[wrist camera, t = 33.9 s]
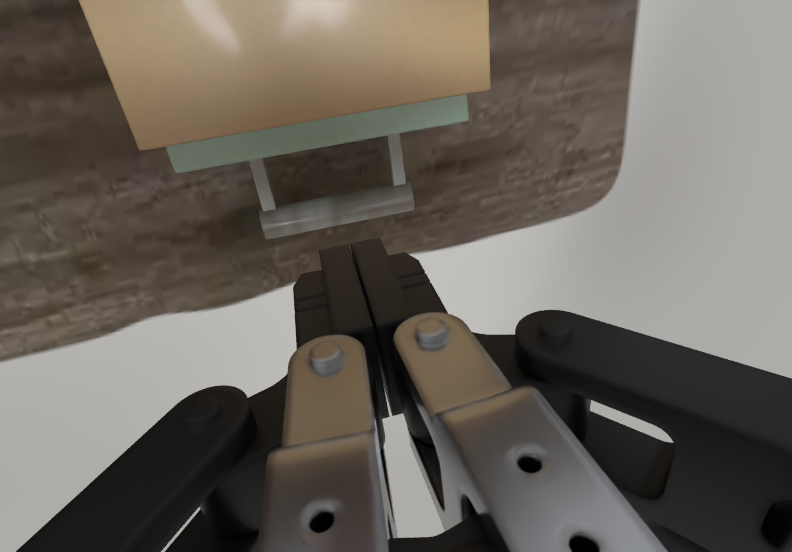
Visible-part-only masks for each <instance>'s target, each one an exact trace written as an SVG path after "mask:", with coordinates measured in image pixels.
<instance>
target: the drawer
mask: <svg viewBox="0 0 792 552" xmlns="http://www.w3.org/2000/svg"><path fill="white" fill-rule="evenodd" d="M468 119H469V118H468V97H467V94H464V95H459V96H453V97H447V98H441V99H436V100H430V101H424V102H419V103H413V104H407V105H402V106H396V107H390V108H384V109H379V110H373V111H367V112H362V113H356V114H350V115H344V116H339V117H333V118H327V119H322V120H316V121H310V122H304V123H299V124H293V125H287V126H282V127H276V128H270V129H264V130H259V131H253V132H247V133H242V134H236V135H230V136H224V137H219V138H213V139H207V140H202V141H196V142H190V143H185V144H179V145H173V146H167V147H165V148H166V150H167V153H168V156H169V158H170V161H171V164H172V166H173V169H174V172H175V173H177V174H178V173H184V172H189V171H195V170H200V169H206V168H211V167H217V166H222V165H228V164H233V163H239V162H244V161H249V165H250V168H251V172H252V175H253V179H254V182H255V185H256V189H257V192H258V196H259V199H260V203H261V206H262V209H260V210H259V217H260V222H261V227H262V230H263V233H264V236H265V238H266V239H273V238H278V237H283V236H288V235H293V234H298V233H303V232H308V231H313V230H317V229H322V228H327V227H332V226H337V225H342V224H347V223H352V222H357V221H362V220H367V219H372V218H377V217H382V216H387V215H392V214H397V213H402V212H407V211H412V210H414V196H413V191H412V188H411V185H410V183H409V181H406V178H405V170H404V162H403V153H402V145H401V137H400V133H404V132H409V131H415V130H421V129H426V128H432V127H437V126H443V125H448V124H454V123H459V122H465V121H468ZM382 136H385V138H386V145H387V153H388V160H389V167H390V175H391V182H392V183H393V184H389V185H384V186H379V187H374V188H368V189H363V190H358V191H353V192H348V193H343V194H337V195H332V196H327V197H322V198H317V199H312V200H306V201H301V202H296V203H291V204H286V205H281V206H276V201H275V197H274V194H273V190H272V186H271V183H270V179H269V175H268V172H267V168H266V164H265V161H264V158H266V157H272V156H277V155H283V154H288V153H294V152H299V151H305V150H310V149H316V148H321V147H327V146H332V145H338V144H343V143H349V142H354V141H360V140H365V139H371V138H376V137H382Z"/></svg>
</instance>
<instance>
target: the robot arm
mask: <svg viewBox="0 0 792 552" xmlns="http://www.w3.org/2000/svg"><path fill="white" fill-rule="evenodd" d="M351 251H352V255H351ZM351 251H350V248H349V245H348V244H346V245H341V246H336V247H331V248H327V249H322V250H319V253H320V259H321V265H322V270H319V271H314V272H309V273H304V274H301V275H300V277H299V279H298V280H297V282H296V283H295V285H294V287H293V292H294V308H295V326H296V342H297V350H296V351H295V352H294V354H293V355H292V357H291V359H290V361H289V365H288V374H287V375H286V376H285V377H284V378H283V379H281V380H280V381H279V382H277V383H276V384H275V385H273V386H271V387H269V388H267V389H265V390H263V391H261V392H259V393H257V394H255V395H253V396H251V397H249V398H247V396H246V394H245V393H244V392H243V391H242V390H240V389H238V388H236V387H232V386H214V387H209V388H206V389H203V390H200V391H198V392H195V393H193V394H191V395H189V396H188V397H186V398H185V399H183V400H182V401H180V402H179V403H178V404H177V405H176V406H174V408H172V409H171V410H170V411H169V412H168V413H167V414H166V415H165V416H164V417H162V418H161V419H160V420H159V421H158V422H157V423H156V424H155V425H154V426H153V427H152V428H150V429H149V430H148V431H147V432H146V433H145V434H144V435H143V436H142V437H141V438H140V439H138V440H137V441H136V442H135V443H134V444H133V445H132V446H131V447H130V448H128V449H127V450H126V451H125V452H124V453H123V454H122V455H121V456H120V457H119V458H118V459H117V460H115V461H114V462H113V463H112V464H111V465H110V466H109V467H108V468H107V469H106V470H105V471H103V472H102V473H101V474H100V475H99V476H98V477H97V478H96V479H95V480H94V481H93V482H91V483H90V484H89V485H88V486H87V487H86V488H85V489H84V490H83V491H82V492H80V494H79V495H77V496H76V497H75V498H74V499H73V500H72V501H71V502H70V503H68V504H67V505H66V506H65V507H64V508H63V509H62V510H61V511H60V512H59V513H57V514H56V515H55V516H54V517H53V518H52V519H51V520H50V521H49V522H48V523H47V524H46V525H44V526H43V527H42V528H41V529H40V530H39V531H38V532H37V533H36V534H35V535H34V536H32V537H31V538H30V539H29V540H28V541H27V542H26V543H25V544H24V545H23V546H21V547H20V548H19V549H18V550H17V551H16V552H161V551H162V550H163V548H164V547H165V546H166V545H167V544H168V542H169V541H170V540H171V539H172V538H173V537H174V535H175V534H176V533H177V532H178V531H179V530H180V528H181V527H182V526H183V525H184V524H185V522H186V521H187V520H188V519H189V518H190V517H191V516H192V514H193V513H194V512H195V511H196V510H197V508H198V507H200V511H199V512H198V513H197V514H196V515H195V517H194V518H193V519H192V520H191V521H190V523H189V524H188V525H187V526H186V527H185V529H184V530H183V531H182V532H181V533H180V535H179V536H178V537H177V538H176V539H175V540H174V541H173V543H172V544H171V545H170V546H169V547H168V549H167V550H166V551H165V552H792V379H791V378H787V377H784V376H781V375H777V374H774V373H771V372H768V371H764V370H761V369H757V368H754V367H751V366H747V365H744V364H741V363H738V362H734V361H730V360H728V359H724V358H721V357H718V356H714V355H711V354H707V353H704V352H701V351H698V350H694V349H691V348H688V347H684V346H681V345H677V344H674V343H671V342H668V341H664V340H661V339H658V338H654V337H651V336H647V335H644V334H641V333H637V332H634V331H631V330H627V329H624V328H621V327H618V326H614V325H611V324H607V323H604V322H600V321H597V320H594V319H590V318H587V317H584V316H581V315H577V314H574V313H571V312H566V311H560V310H544V311H538V312H534V313H531V314H529V315H527V316H525V317H524V318H522V319H521V320H520V321H519V323H518V324H517V326H516V331H515V335H485V334H478V333H474V332H471V330H470V329H469V328H468V326H467V325H466V324H465V323H464V322H463V321H462V320H461V319H459V318H458V317H455V316H453V315H450V314H448V313H447V311H446V309H445V307H444V305H443V304H442V302H441V300H440V298H439V296H438V295H437V293H436V291H435V289H434V287H433V286H432V284H431V283H430V280H429V279H428V277H427V275H426V274H425V271H424V269H423V268H422V266H421V264H420V262H419V260H417V259H415V258H414V257H412V256H410V255H409V254H407V253H405V252H404V253H399V254H394V255H389V256H388V255H387V253H386V250H385V248H384V246H383V244H382V241H381V239H380V238H375V239H370V240H365V241H360V242H355V243H351ZM352 256H353V258H352ZM383 384H384V385H383ZM384 388H385V390H384ZM385 391H386V395H387V398H388V402H389V406H390V409H391V412H392V415H393V416H394V415H398V414H402V413H404V416H405V420H406V423H407V427H408V433H409V439H410V445H411V448H412V450H413V453H414V455H415V458H416V460H417V462H418V465H419V467H420V470H421V472H422V475H423V477H424V480H425V482H426V485H427V487H428V489H429V492H430V494H431V497H432V499H433V502H434V504H435V507H436V509H437V511H438V514H439V517H440V519H441V521H442V524H443V527H444V530H445V532H443V533H442V534H440V535H437V536H434V537H420V538H397V530H396V524H395V517H394V510H393V505H392V504H393V503H392V496H391V490H390V483H389V477H388V469H387V462H386V456H385V450H384V443H385V433H384V428H383V422H382V419H383V418H387V417H389V412H388V407H387V402H386V396H385ZM591 400H593V401H596V402H598V403H601V404H603V405H606V406H608V407H611V408H613V409H616V410H618V411H621V412H623V413H626V414H628V415H631V416H633V417H636V418H638V419H641V420H643V421H646V422H648V423H651V424H653V425H655V426H657V427H659V428H661V429H662V430H663V431H665V432H666V433H667V434H668V435H669V436H670V437H671V439H672V440H673V442H674V443H669V442H664V441H661V440H659V439H656V438H654V437H652V436H649V435H647V434H644V433H642V432H640V431H637V430H635V429H632V428H630V427H627V426H625V425H623V424H620V423H618V422H615V421H613V420H610V419H608V418H606V417H603V416H601V415H598V414H596V413H594V412H591V411H590V404H591Z"/></svg>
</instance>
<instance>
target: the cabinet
mask: <svg viewBox="0 0 792 552" xmlns="http://www.w3.org/2000/svg"><path fill="white" fill-rule="evenodd" d="M79 2H80V5H81V7H82V10H83V12H84V15H85V17H86V20H87V22H88V24H89V27H90V29H91V32H92V34H93V37H94V39H95V42H96V44H97V47H98V49H99V52H100V54H101V57H102V59H103V62H104V64H105V67H106V69H107V72H108V74H109V77H110V79H111V82H112V84H113V86H114V89H115V91H116V94H117V96H118V99H119V101H120V104H121V106H122V109H123V111H124V114H125V116H126V119H127V121H128V124H129V126H130V129H131V131H132V134H133V136H134V139H135V141H136V144H137V146H138V148H139V150H140V151H145V150H150V149H156V148H162V147H167V146H173V145H179V144H185V143H190V142H196V141H202V140H207V139H213V138H219V137H224V136H230V135H236V134H242V133H247V132H253V131H259V130H264V129H270V128H276V127H282V126H287V125H293V124H299V123H304V122H310V121H316V120H322V119H327V118H333V117H339V116H344V115H350V114H356V113H362V112H367V111H373V110H379V109H384V108H390V107H396V106H402V105H407V104H413V103H419V102H424V101H430V100H436V99H441V98H447V97H453V96H459V95H464V94H470V93H476V92H481V91H487V90H490V88H491V87H490V45H489V4H488V0H79Z"/></svg>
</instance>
